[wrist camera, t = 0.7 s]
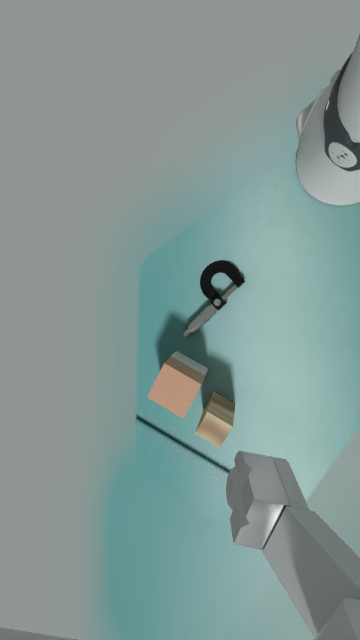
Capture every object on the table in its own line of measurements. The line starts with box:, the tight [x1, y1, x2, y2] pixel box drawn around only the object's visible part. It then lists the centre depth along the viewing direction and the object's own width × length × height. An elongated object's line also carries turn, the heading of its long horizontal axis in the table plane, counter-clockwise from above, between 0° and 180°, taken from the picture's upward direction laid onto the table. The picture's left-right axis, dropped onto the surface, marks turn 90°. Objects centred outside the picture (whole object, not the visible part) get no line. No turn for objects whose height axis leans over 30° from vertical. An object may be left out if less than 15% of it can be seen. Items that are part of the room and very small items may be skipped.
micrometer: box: [183, 261, 245, 337], centre depth 47 cm, size 15×7×2 cm, turn 135°
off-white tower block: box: [170, 351, 208, 375], centre depth 49 cm, size 7×7×4 cm
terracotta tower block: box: [148, 356, 206, 418], centre depth 45 cm, size 7×7×4 cm
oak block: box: [195, 392, 235, 448], centre depth 46 cm, size 4×4×8 cm
